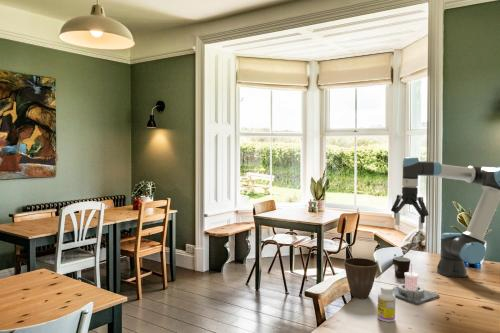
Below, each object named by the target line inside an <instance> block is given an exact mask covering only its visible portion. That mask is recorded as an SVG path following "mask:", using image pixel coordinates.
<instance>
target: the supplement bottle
mask: <svg viewBox="0 0 500 333" xmlns="http://www.w3.org/2000/svg"><path fill="white" fill-rule="evenodd" d="M393 288H394V287H393V286H390V285H381V286H380V292H378V294H377V318H378V319H379V320H380V321H381V320H382V321H381V322H385V321H386V323H391V322H395V319H396V297H395V295H394V294H393Z"/></svg>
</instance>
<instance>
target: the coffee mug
mask: <svg viewBox="0 0 500 333" xmlns="http://www.w3.org/2000/svg"><path fill="white" fill-rule="evenodd" d="M392 263H393V267H394V268H393V269H394V276H395V278H397V279H399V280H400V279H401V280H405V275H404V273H405V272H410V268H411V259H410V258H408V257H404V256H403V257H402V256H394V257H393V259H392Z"/></svg>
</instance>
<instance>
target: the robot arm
mask: <svg viewBox="0 0 500 333" xmlns="http://www.w3.org/2000/svg"><path fill="white" fill-rule="evenodd" d="M419 176H423V177H424V176H426V177H434V178H442V179H450V180H457V181H465V182H466V183H467V184H474V185H479V186H481V188H482V190H483V191H482V193H481V196H480V198H479V200H478V203H477V205H476V208H475V210H474V212H473V214H472V217H471V219H470V220H469V223H468V226H467V228H466V230H465V231H463V232H461V233H460V232H459V233H458V232H443V233H441V236H440V258H439V261H438V264H437V266H436V273H438V274H440V275H443V276H447V277H452V278H465V277H467V276H468V274H467V268H466V264H465V263H468V264H478V263H480V262H482V261H483V260H484V259H485V257H486V255H487V250H486V247H485V244H486V241H485V239H484V238H485V235H486V233H487V231H488V228H489V226H490V224H491V223H492V222H491V221H492V220H493V217H494V215H495V213H496V209H497V208H498V206H499V204H500V165H497V166H496V165H494V166H493V165H484V166H482V165H481V166H477V165H475V166H474V165H473V166H472V165H469V166H458V165H451V164H443V163H440V162H439V161H435V160H434V161H433V160H432V161H423V160H422V161H421V160H419V157H412V156H411V157H406V156H405V157H403V161H402V178H401V179H402V183H401V184H402V187H401V190H402V191H401V194H396V199H395V201H394V203H393V205H392V207H391V209H390V211H391V212H393V214H394V215H393V216H394V220H395V221H394V222H395V224H394V225H395V226H400V221H401V220H400V219H401V218H400V217H401V216H400V215H401V212H400V211H401V210H402V209H403V207H405V205H410V206H413V207H414V209H415V210H416V212H417V213H418V215H419V216H418V230H423V229H424V224H425V220H426V217H427V216H430V214H429V212H428V209H427V206H426V204H425V202H424V197H423V196H418V189H419V188H418V186H419ZM401 200H402V201H401ZM417 201H418V202H417Z"/></svg>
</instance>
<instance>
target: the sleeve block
mask: <svg viewBox="0 0 500 333" xmlns="http://www.w3.org/2000/svg"><path fill="white" fill-rule="evenodd" d="M393 294H394V295H395V297H396V298H397V299H399V300H402V301H406V302H408V303H411V304H414V305H417V306H418V305H421V304H424V303H427V302H430V301H432V300H436V299H439V298H440V294H439V293H438V294H437V293H435V292H431V291H427V290H425V289H424V288H423V287H422V286H420V285H417V289H416V290H414V291H413V290H407V289H405V283H401V284H398V286H394V287H393Z"/></svg>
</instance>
